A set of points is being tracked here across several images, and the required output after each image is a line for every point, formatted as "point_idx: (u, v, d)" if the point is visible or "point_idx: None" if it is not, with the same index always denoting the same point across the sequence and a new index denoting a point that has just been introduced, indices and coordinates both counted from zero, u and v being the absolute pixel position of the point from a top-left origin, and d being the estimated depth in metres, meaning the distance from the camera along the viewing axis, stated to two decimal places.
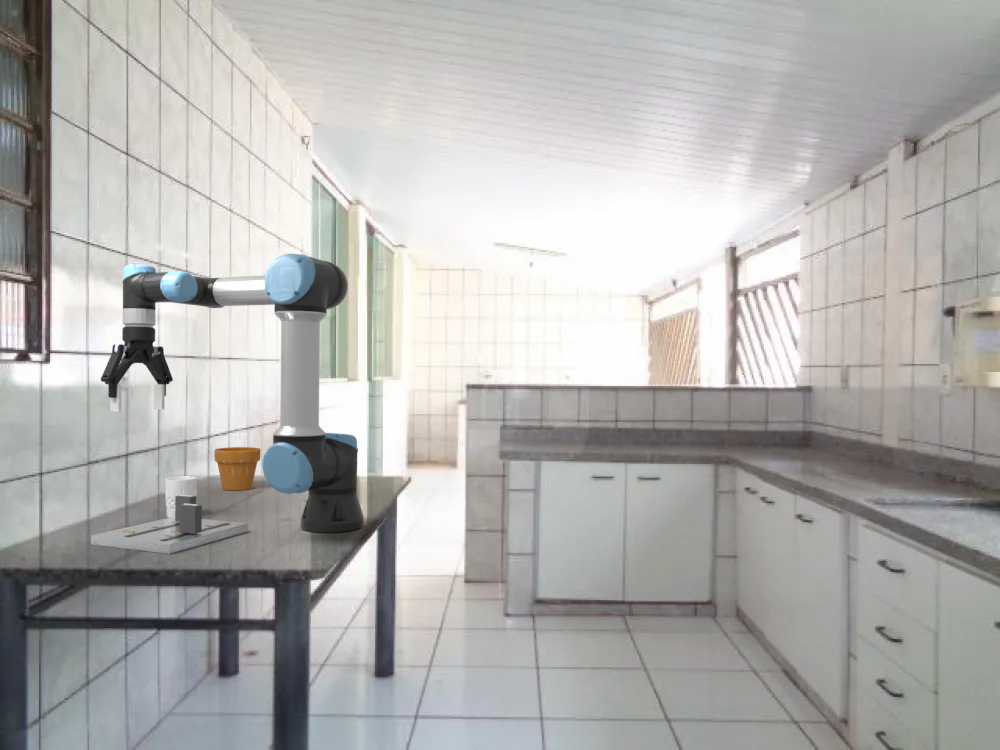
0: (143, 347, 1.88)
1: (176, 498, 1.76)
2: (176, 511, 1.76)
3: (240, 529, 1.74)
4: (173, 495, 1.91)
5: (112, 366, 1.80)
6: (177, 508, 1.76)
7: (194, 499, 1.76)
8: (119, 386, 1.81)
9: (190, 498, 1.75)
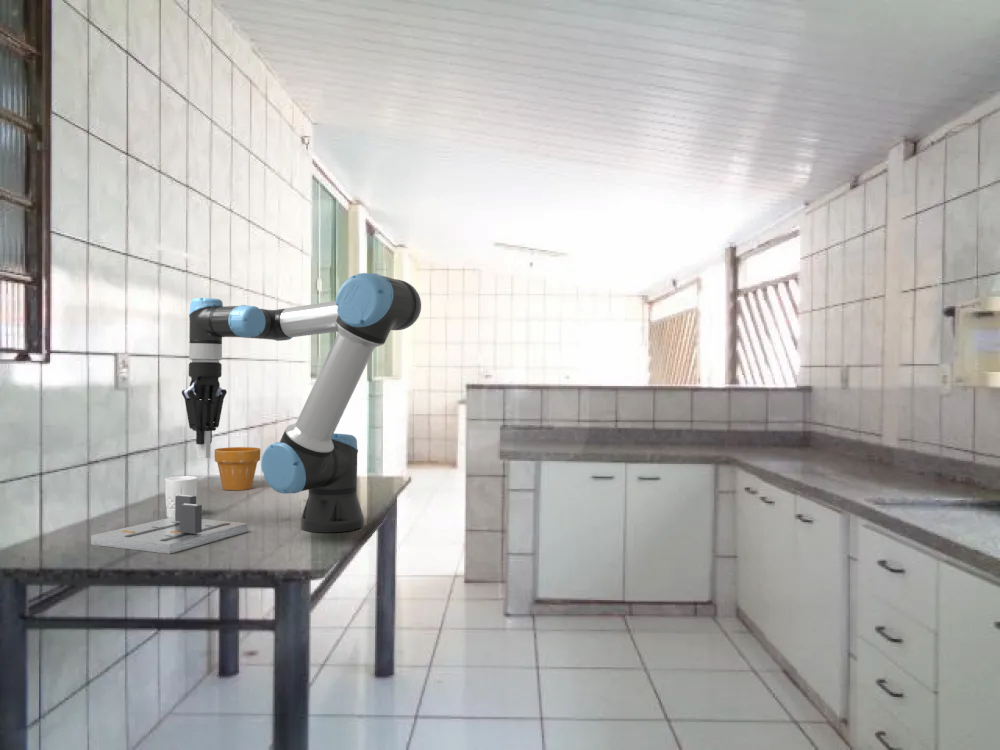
0: None
1: (176, 498, 1.76)
2: (176, 511, 1.76)
3: (240, 529, 1.74)
4: (173, 495, 1.91)
5: (193, 414, 1.78)
6: (177, 508, 1.76)
7: (194, 499, 1.76)
8: (206, 433, 1.81)
9: (190, 498, 1.75)
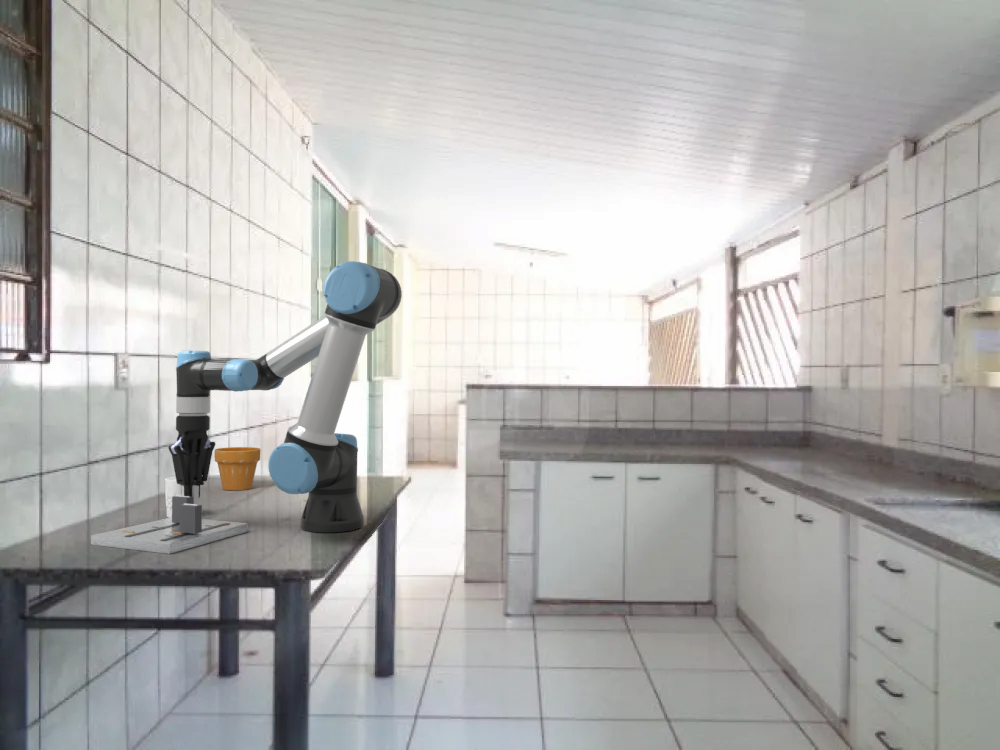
0: None
1: (173, 499, 1.75)
2: (173, 512, 1.75)
3: (240, 529, 1.74)
4: (173, 495, 1.91)
5: (181, 470, 1.74)
6: (174, 509, 1.75)
7: (191, 500, 1.75)
8: (194, 488, 1.78)
9: (187, 499, 1.74)
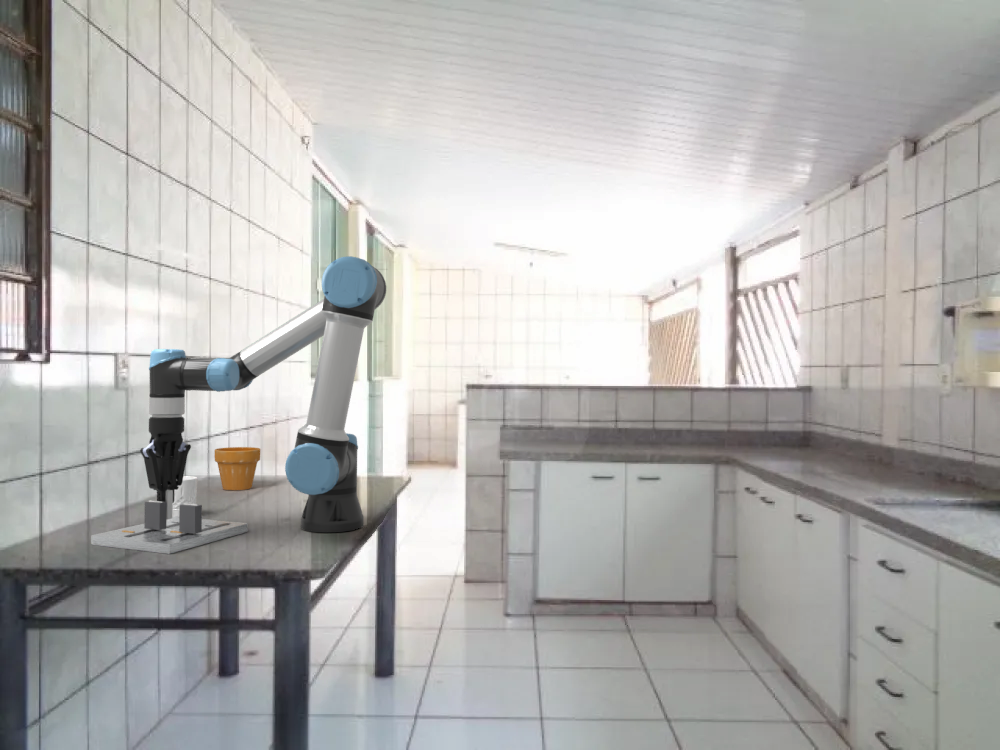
0: None
1: (145, 504, 1.68)
2: (145, 518, 1.68)
3: (240, 529, 1.74)
4: None
5: (153, 474, 1.67)
6: (146, 515, 1.68)
7: (164, 505, 1.68)
8: (168, 492, 1.70)
9: (160, 504, 1.67)
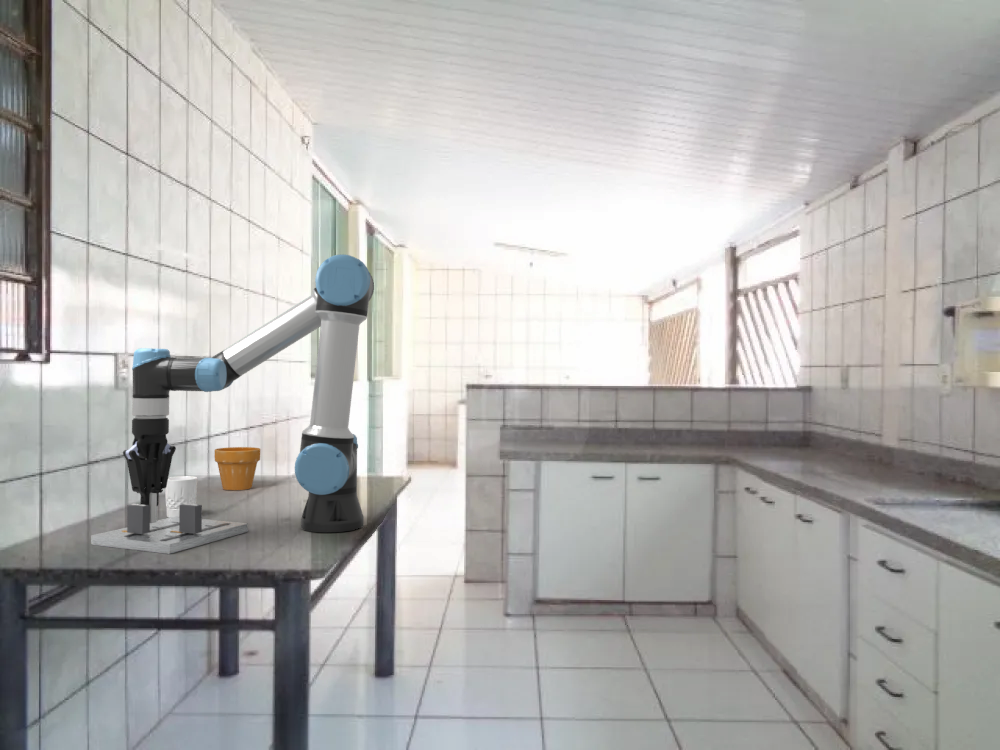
0: None
1: (128, 507, 1.63)
2: (128, 521, 1.63)
3: (240, 529, 1.74)
4: (173, 495, 1.91)
5: (136, 476, 1.62)
6: (129, 518, 1.63)
7: (147, 508, 1.63)
8: (152, 495, 1.66)
9: (143, 507, 1.62)
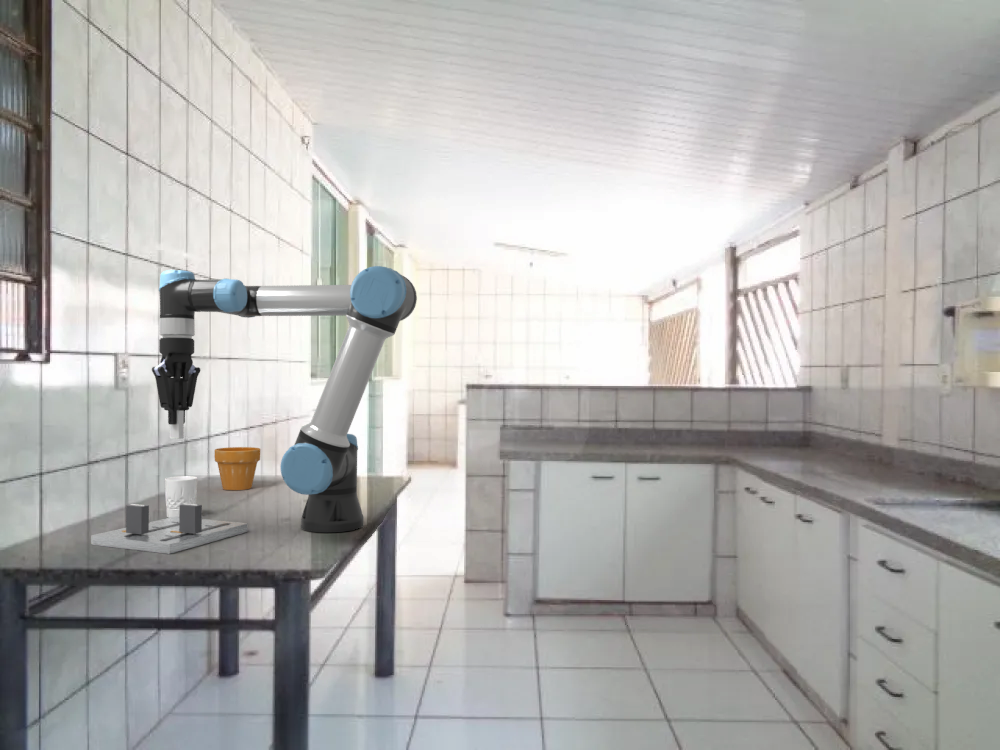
0: None
1: (127, 508, 1.63)
2: (127, 522, 1.63)
3: (240, 529, 1.74)
4: (173, 495, 1.91)
5: (165, 392, 1.69)
6: (128, 519, 1.63)
7: (146, 509, 1.63)
8: (179, 412, 1.72)
9: (142, 508, 1.62)
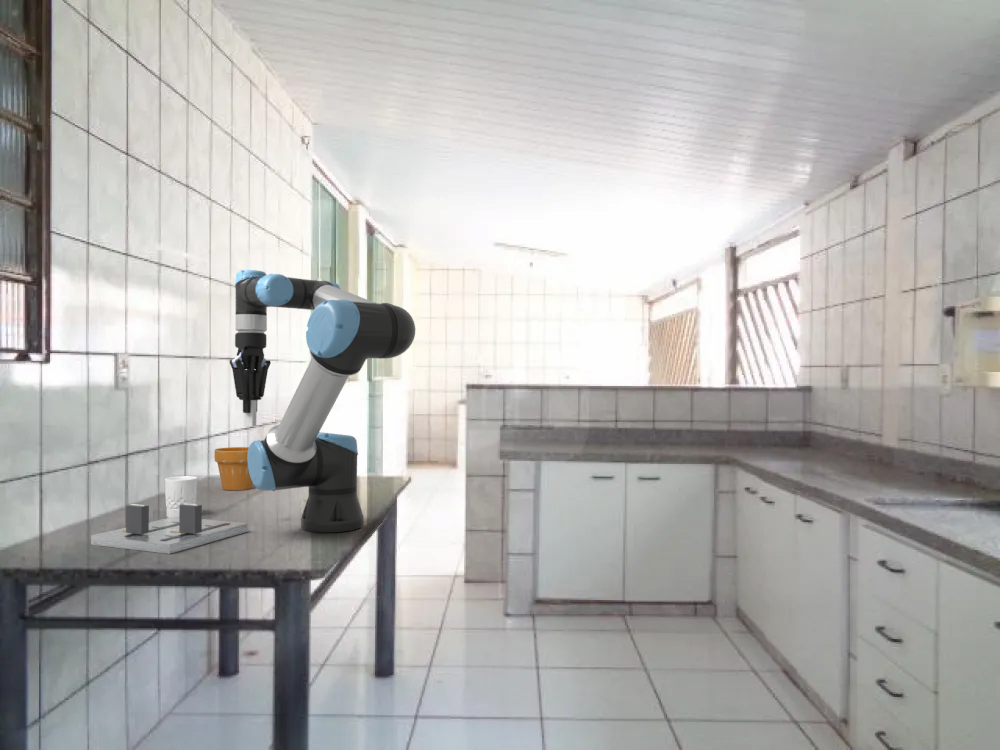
0: None
1: (127, 508, 1.63)
2: (127, 522, 1.63)
3: (240, 529, 1.74)
4: (173, 495, 1.91)
5: (241, 383, 1.83)
6: (128, 519, 1.63)
7: (146, 509, 1.63)
8: (253, 401, 1.86)
9: (142, 508, 1.62)
